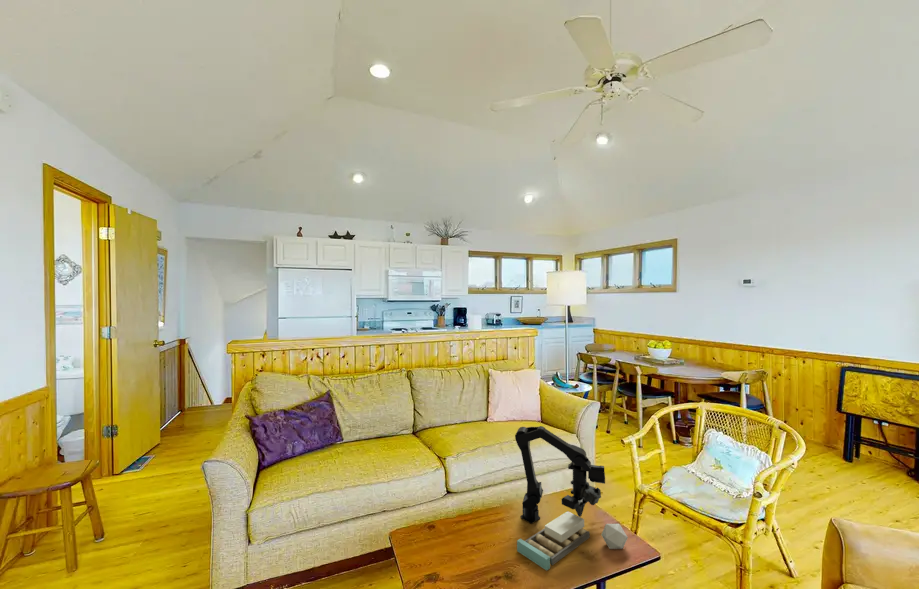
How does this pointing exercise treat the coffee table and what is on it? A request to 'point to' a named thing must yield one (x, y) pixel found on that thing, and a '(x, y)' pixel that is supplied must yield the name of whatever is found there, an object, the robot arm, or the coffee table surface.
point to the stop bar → (533, 554)
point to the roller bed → (555, 547)
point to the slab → (564, 526)
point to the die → (614, 536)
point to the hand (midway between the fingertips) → (579, 516)
